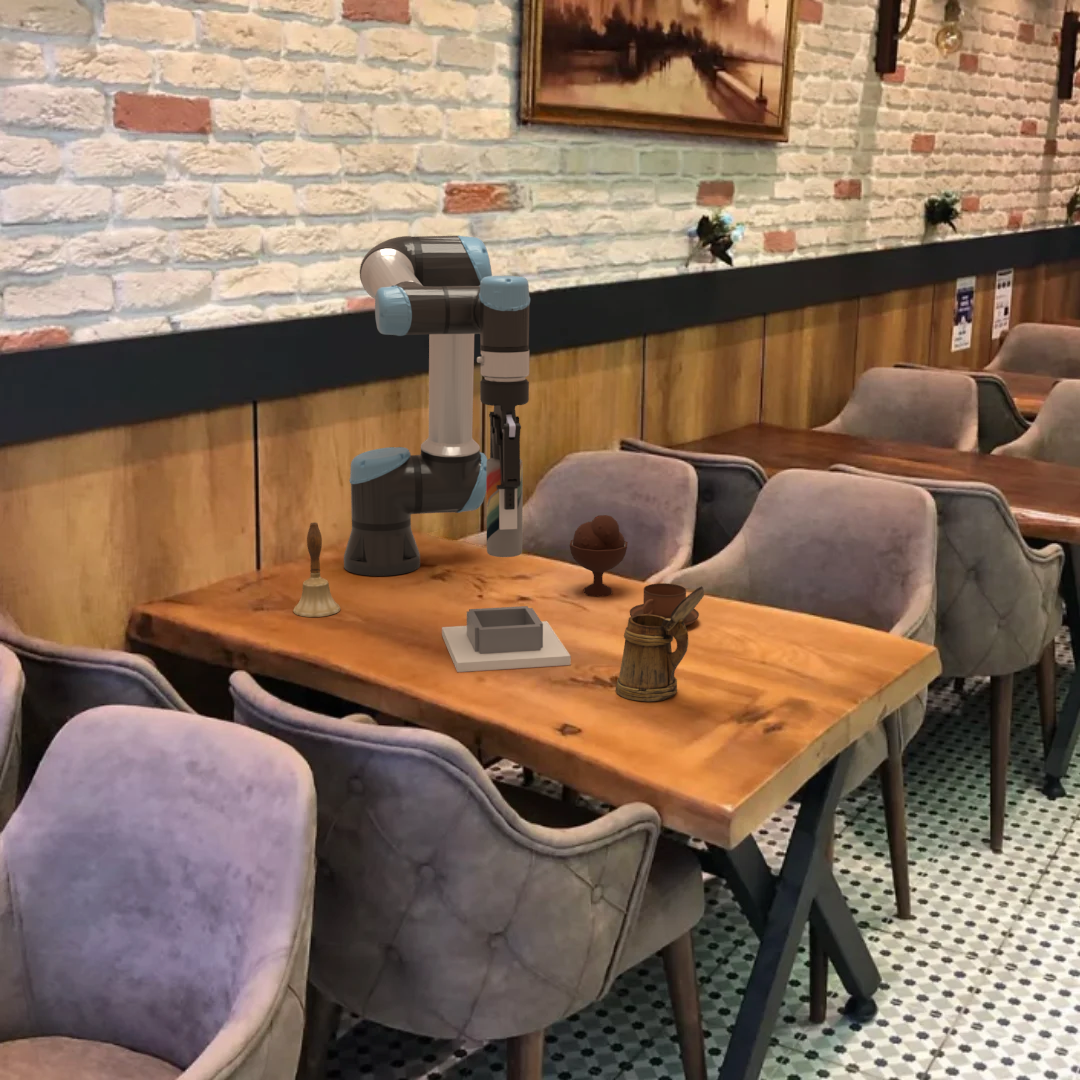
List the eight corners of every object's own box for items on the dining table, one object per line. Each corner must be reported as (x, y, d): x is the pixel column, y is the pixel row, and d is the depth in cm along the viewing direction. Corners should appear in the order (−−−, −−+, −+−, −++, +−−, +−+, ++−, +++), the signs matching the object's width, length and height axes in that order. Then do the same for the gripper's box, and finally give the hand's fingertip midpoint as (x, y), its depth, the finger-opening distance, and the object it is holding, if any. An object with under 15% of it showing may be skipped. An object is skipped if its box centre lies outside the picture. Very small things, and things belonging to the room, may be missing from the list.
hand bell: (286, 607, 236) (283, 521, 232) (330, 601, 240) (327, 516, 236) (302, 620, 229) (299, 531, 225) (347, 613, 233) (344, 525, 229)
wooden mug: (681, 714, 188) (686, 593, 184) (604, 693, 196) (606, 576, 192) (713, 696, 195) (718, 579, 190) (637, 676, 203) (640, 564, 198)
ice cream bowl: (627, 584, 251) (629, 508, 248) (625, 601, 241) (627, 522, 237) (571, 582, 252) (572, 506, 249) (567, 599, 242) (568, 520, 238)
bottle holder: (441, 635, 221) (441, 604, 220) (546, 629, 225) (547, 598, 223) (457, 672, 204) (457, 638, 203) (570, 664, 208) (570, 631, 206)
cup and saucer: (688, 637, 222) (690, 602, 220) (620, 629, 226) (621, 594, 224) (705, 617, 233) (707, 583, 231) (640, 609, 237) (641, 576, 235)
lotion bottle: (487, 548, 213) (487, 426, 208) (523, 549, 213) (523, 426, 208) (485, 557, 207) (484, 431, 203) (521, 558, 207) (521, 432, 202)
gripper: (471, 371, 211) (472, 512, 217) (490, 386, 194) (491, 539, 199) (517, 370, 213) (516, 510, 219) (540, 385, 195) (539, 537, 201)
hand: (504, 523), depth 209 cm, fingers closed on lotion bottle, 6 cm apart
